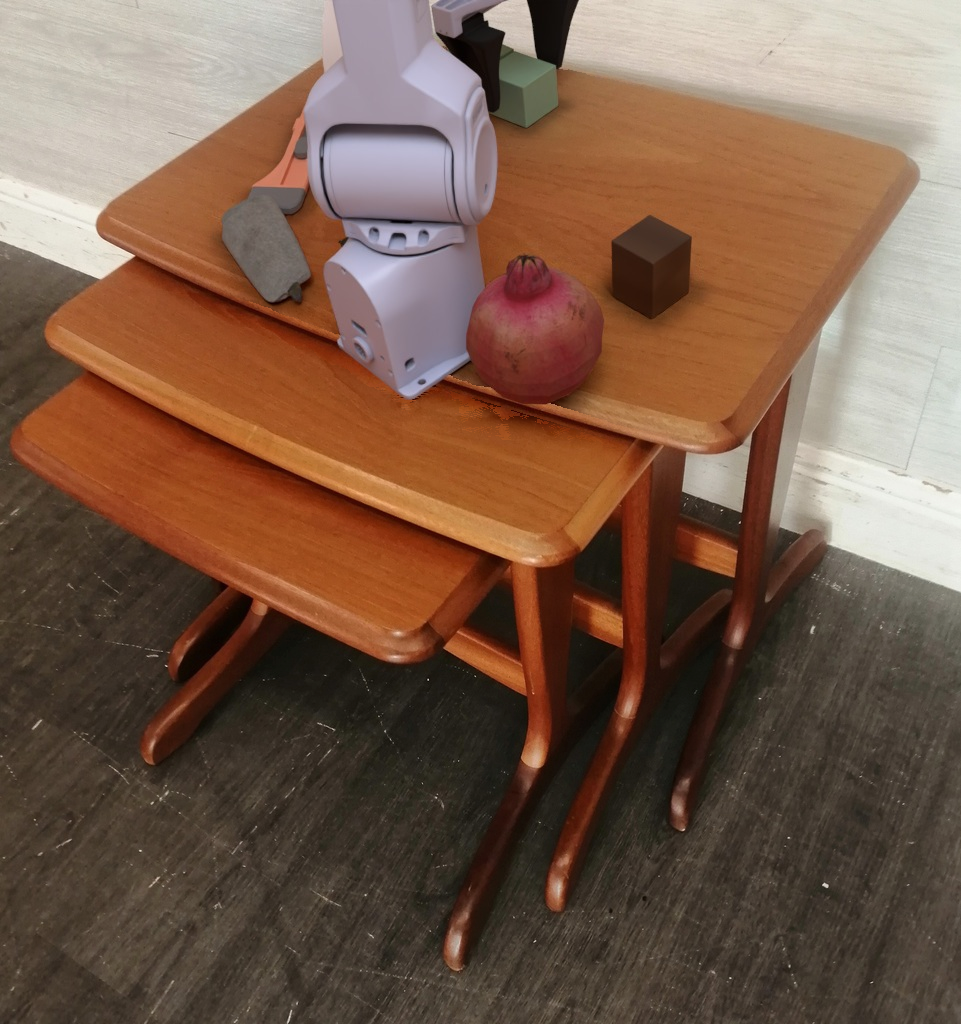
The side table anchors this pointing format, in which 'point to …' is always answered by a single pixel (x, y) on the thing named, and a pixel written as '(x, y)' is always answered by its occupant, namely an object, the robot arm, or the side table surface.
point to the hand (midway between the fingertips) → (519, 85)
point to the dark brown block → (651, 266)
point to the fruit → (534, 332)
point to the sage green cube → (526, 89)
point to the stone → (264, 246)
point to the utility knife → (288, 173)
